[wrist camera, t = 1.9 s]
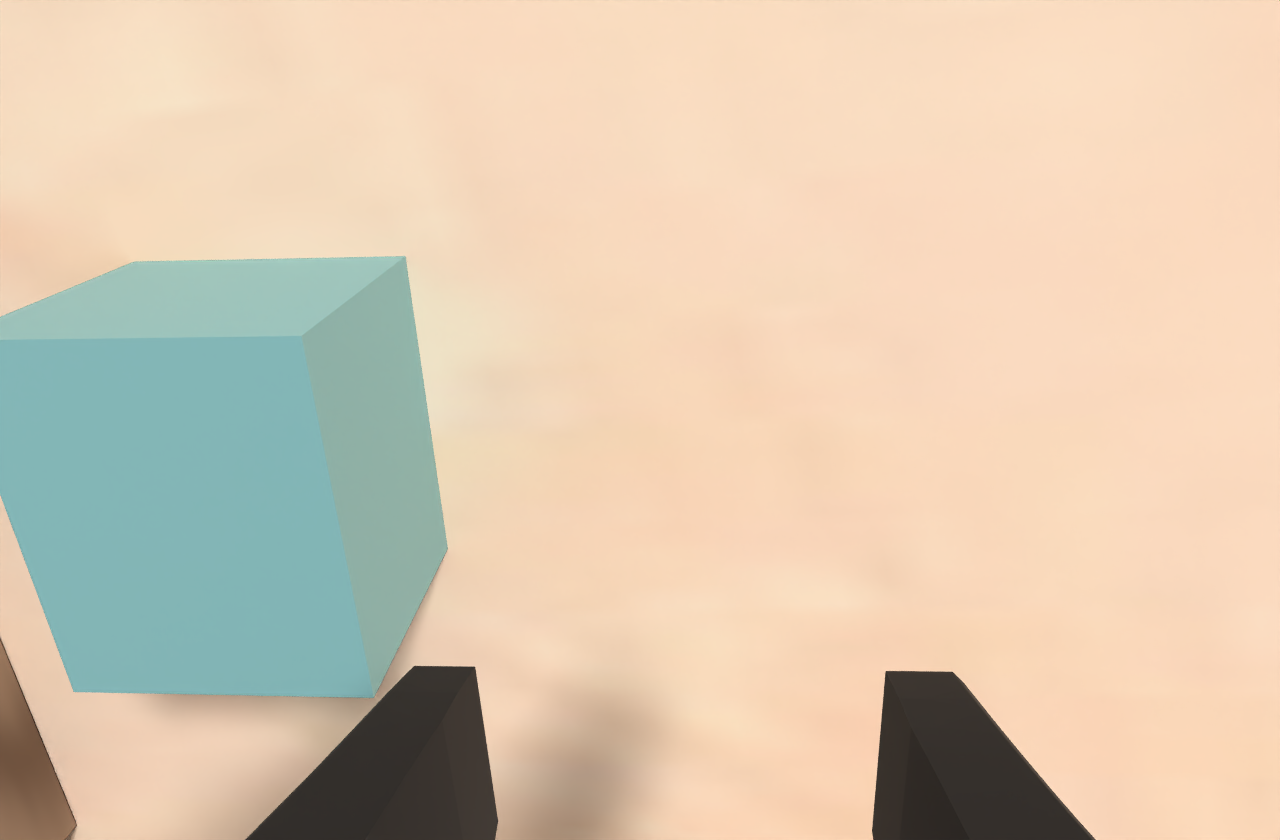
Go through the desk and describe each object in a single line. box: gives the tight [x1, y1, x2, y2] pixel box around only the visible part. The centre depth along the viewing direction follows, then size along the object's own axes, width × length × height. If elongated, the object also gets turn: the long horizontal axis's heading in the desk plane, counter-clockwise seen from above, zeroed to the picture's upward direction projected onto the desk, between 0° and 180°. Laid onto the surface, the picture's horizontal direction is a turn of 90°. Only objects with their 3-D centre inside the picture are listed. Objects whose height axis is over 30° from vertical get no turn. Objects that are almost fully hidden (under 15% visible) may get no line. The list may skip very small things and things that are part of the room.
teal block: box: [0, 256, 448, 698], centre depth 15 cm, size 6×5×4 cm
